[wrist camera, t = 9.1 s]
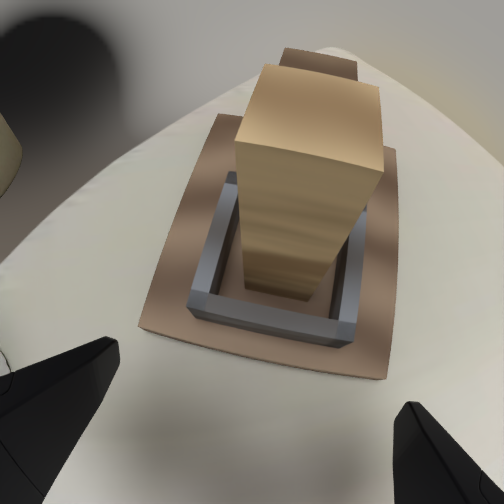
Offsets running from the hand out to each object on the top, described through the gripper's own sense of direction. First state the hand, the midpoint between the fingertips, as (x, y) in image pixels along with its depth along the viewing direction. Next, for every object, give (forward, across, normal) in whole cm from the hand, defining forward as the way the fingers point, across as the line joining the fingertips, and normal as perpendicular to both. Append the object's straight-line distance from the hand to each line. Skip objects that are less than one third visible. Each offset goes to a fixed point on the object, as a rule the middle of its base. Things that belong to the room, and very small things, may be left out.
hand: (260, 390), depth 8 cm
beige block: (+12, 0, +1) cm, 13 cm away
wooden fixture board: (+16, 0, 0) cm, 16 cm away
